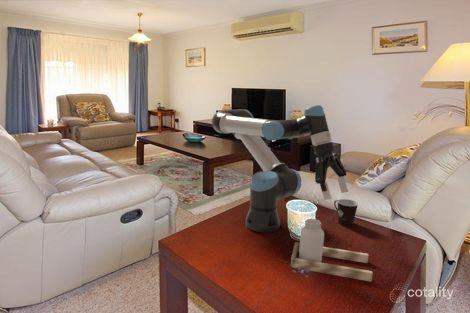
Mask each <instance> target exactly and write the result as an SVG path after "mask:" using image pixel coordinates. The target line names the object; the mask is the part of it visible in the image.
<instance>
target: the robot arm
mask: <svg viewBox="0 0 470 313" xmlns="http://www.w3.org/2000/svg"><path fill="white" fill-rule="evenodd" d="M303 111H304V112H303V115H302V116H300V117H298V118H292V119H291V118H290V119H283V120H282V119H279V120H276V119H267V118H266V119H265V118H264V119H263V118H255V117H254V115H253V114H252V112H250V111H249V110H248V109H243V108H238V109H222V110H219V111H217V112H215V114H214V115H213V116H212V119H211V125H212V128H213V130H214V131H216V132H217V133H219V134H232V135H233V136H234V138H235V139H237V140H241V141H242V143H243V145H244V146H245V147H246V149H247V150H248V151H249V153H250V154H251V156H252V157H253V158H254V160H255V161H256V163H257V164H258V165H259V166H260V168H261V169H262V170H263V171H258V172H256V173H254V174H253V175H252V176H251V180H250V188H249V189H250V192H249V193H250V195H249V196H250V197H249V210H248V212H247V215H246V218H245V228H247V229H249V230H251V231H253V232H257V233H273V232H276V231H278V230H279V229H280V228H281V220H280V218H279V213H278V209H277V208H278V205H277V204H278V200H281V199H284V198H287V197H291V196H294V195H295V194H297V193H298V192H299V191H300V189H301V188H302V177H301V175H300V172H298V171H297V170H296V169H292V168H289V167H288V165H287V164H286V163H284V162H280V160H279V159H278V158H277V157H276V155H275V153H273V151H272V150H271V149H270V148H269V146H268V145H267V144H266V143H265V141H264V140H263V138H265V139H266V140H268V141H278V140H284V139H289V140H292V139H297V138H299V137H301V136H305V135H306V134H307V135H308V134H309V135H310V139H311V144H312V146H314V147H313V151H314V153H315V156H318V157H314V163H315V166H314V167H315V169H314V171H315V172H314V181H315V183H316V184H317V185H320V189H321V192H322V195H323V200H325V201H326V200H332V195H331V191H330V188H329V184H328V181H326V180H327V174H328V168H331V170H333V171H334V173H335V174H336V175H337V182H338V185H339V188H340V193H341V194H344V193H349V189H348V185H347V182H346V178H345V176H347V171H346V169H345V167H344V165H343V163H342V162H341V160H340V159H339V156H338V155H339V154H338V153H337V152H335V146H334V143H333V142H331V141H332V137H331V136H332V134H331V133H330V129H329V126H328V121H327V118H326V114H325V111H324V107H323V106H322V105H320V104H319V105H317V104H316V105H313V106H310V107H307V108H305V109H304V110H303ZM333 152H335V153H333Z"/></svg>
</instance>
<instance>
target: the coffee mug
mask: <svg viewBox="0 0 470 313" xmlns="http://www.w3.org/2000/svg"><path fill="white" fill-rule="evenodd" d="M336 204H337V205H336ZM358 204H359V203H358V202H356V201H355V200H352V199H348V198H347V199H346V198H341V199H337V200H334V203H333V205H334V208H335V209H336V211H337V222H338V224H339V225H341V226H344V227H351V226H354V222H355V217H356V215H357V214H356V213H357V210H358V207H359V206H358Z"/></svg>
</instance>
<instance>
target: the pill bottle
mask: <svg viewBox="0 0 470 313" xmlns="http://www.w3.org/2000/svg"><path fill="white" fill-rule="evenodd" d="M304 222H305V223H304V226H303V227H302V228H301V230H300V238H299V243H300V247H299V252H298V259H304V260H310V261H316V262H321V263H322V260H323V256H322V252H323V247H324V242H325V231H324V230H323V229H322V222H321V221H320V220H319V219H317V218H308V219H306V220H305V221H304Z"/></svg>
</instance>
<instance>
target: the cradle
mask: <svg viewBox="0 0 470 313" xmlns="http://www.w3.org/2000/svg"><path fill="white" fill-rule="evenodd" d="M299 247H300V242H297V241H296V242H294V245H293V250H292V254H291V258H290V268H292V269H293V268H294V269H298V270H304V271H310V272H316V273H321V274H327V275H333V276H338V277H344V278H350V279H353V280H354V279H355V280H360V281H366V282H371V283H372V281H373V271H371V270H367V269H362V268H361V269H360V268H356V267H355V268H354V267H350V266H343V265H338V264H332V263H326V262H322V261H321V262H316V261H310V260H304V259H299V257H298V258H297V254H298V253H299ZM322 257H328V258H333V259H339V260H347V261H352V262H358V263H364V264H368V262H369V253H365V252H359V251H353V250H346V249H340V248H333V247H326V246H323V252H322Z"/></svg>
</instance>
